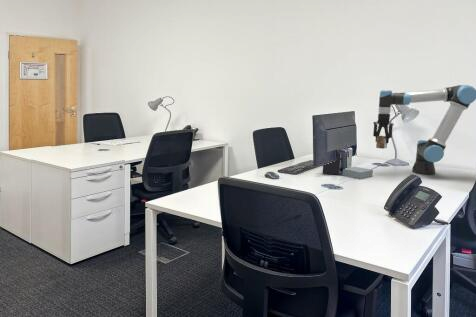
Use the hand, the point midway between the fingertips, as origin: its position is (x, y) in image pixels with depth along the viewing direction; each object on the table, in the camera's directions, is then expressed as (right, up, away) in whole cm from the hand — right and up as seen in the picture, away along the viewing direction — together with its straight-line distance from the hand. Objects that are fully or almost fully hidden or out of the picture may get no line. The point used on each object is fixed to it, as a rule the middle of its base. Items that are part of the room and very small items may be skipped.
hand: (381, 147), depth 282 cm
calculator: (-35, -18, +1) cm, 39 cm away
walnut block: (0, 0, 0) cm, 0 cm away
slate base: (-18, -20, -4) cm, 27 cm away
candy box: (-21, -16, +18) cm, 32 cm away
